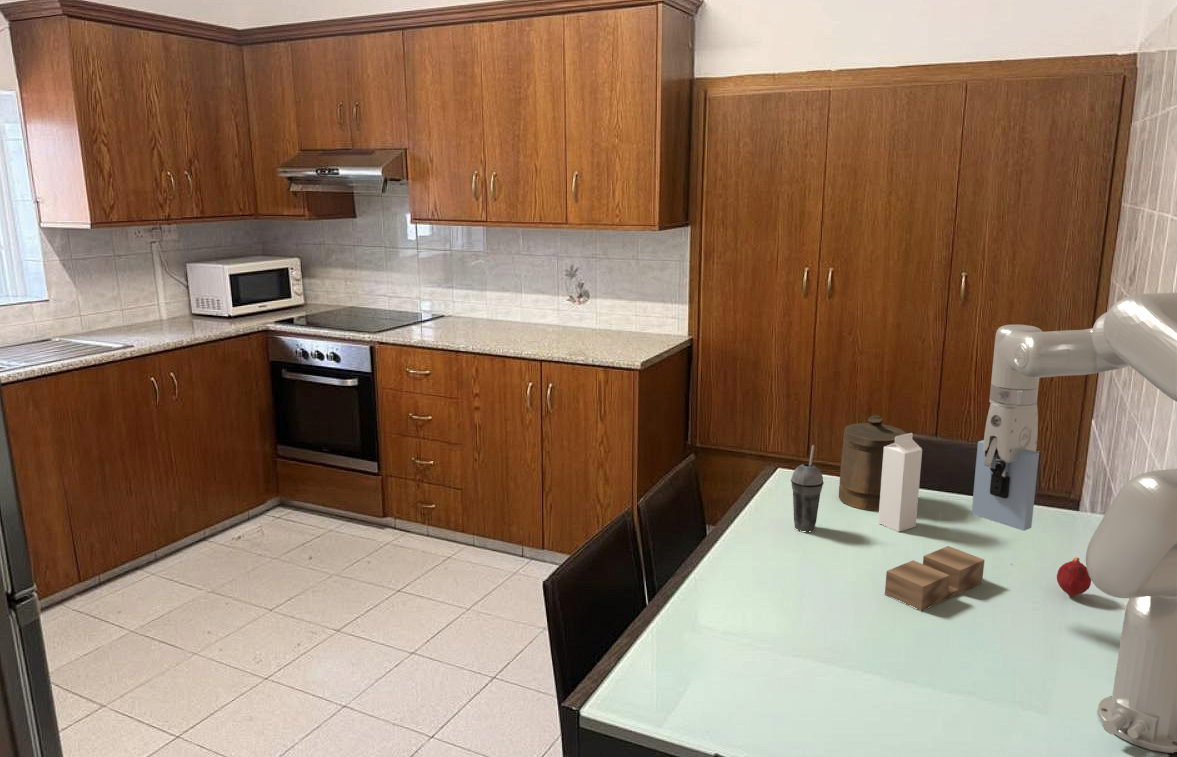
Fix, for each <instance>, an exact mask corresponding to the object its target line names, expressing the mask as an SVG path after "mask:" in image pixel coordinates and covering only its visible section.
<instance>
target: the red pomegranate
mask: <svg viewBox="0 0 1177 757" xmlns="http://www.w3.org/2000/svg"><path fill="white" fill-rule="evenodd" d="M1056 582H1057V583H1058V586H1059V587H1060V588H1061V590H1062V591H1063V592H1064V593H1066V594H1067V595H1068V596H1069V597H1076V596H1080V595H1082V594H1084V593H1085V592H1087V591H1088V590H1089V588H1091V586H1092V580H1091V579H1090V577H1089V575H1088V572H1087V567H1086V565H1084V564H1083V563H1082V562H1080V558H1079V557H1078V556H1074V557H1073V558H1072V560H1071V561H1068V562H1065V563H1064V564H1062V565H1061V566H1060V567H1058V570H1057V574H1056Z"/></svg>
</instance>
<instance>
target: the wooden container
mask: <svg viewBox="0 0 1177 757" xmlns="http://www.w3.org/2000/svg"><path fill="white" fill-rule="evenodd" d="M867 420H868V422H861V423H859V422H858V423H852V424H849V425H847V426H845V427H844V430H843V436H842V437H843V439H842V440H843V442H842V449H841V460H840V468H839V470H840V471H839V486H838V487H839V488H838V499H839V500H840V502H842V503H843V504H845V505H848V506H850V507H852V508H856V509H860V510H864V511H872V512H873V511H877V512H879V504H880V491H881V478H882V465H883V452H884V447H885V446H888V445H891V444H894V443H895V437H896V436H901V435H905V434H907V432H905V431H904V430H903V429H901V428H899V427H896V426H892V425H888V424H883V423H884V419H883V418H882V417H881V416H880V415H877V414H875V415H871V416H869V417H868V419H867Z"/></svg>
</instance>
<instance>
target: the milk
mask: <svg viewBox="0 0 1177 757" xmlns="http://www.w3.org/2000/svg"><path fill="white" fill-rule="evenodd" d="M913 435H914V434H913V432H910V433H906V434H905V435H901V436H896V437H895V443H894V444H891V445H888V446H885V447H884V452H883V465H882V478H881V491H880V504H879V511H878V521H877V524H878V523H879V524H878V525H880V524H882V525H881V526H883V525H884V526H883V527H885V526H886V527H885V528H888V529H890V528H891V529H890V530H893V531H895V532H897V531H898V532H897V533H900V532H903V531H906V530H909V529H912V528H916V526H917V515H918V502H919V493H920V492H919V491H920V482H921V470H922V469H921V468H922V459H923V458H922V457H923V456H922V455H923V448H922V447H921V446H920V445H919V444H918V443H917V442H916V441H915V440H914V439H913Z"/></svg>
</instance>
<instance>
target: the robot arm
mask: <svg viewBox="0 0 1177 757" xmlns="http://www.w3.org/2000/svg"><path fill="white" fill-rule="evenodd" d="M993 347H994V348H993V359H992V371H991V380H990V390H989V391H990V392H989V403H990V404H989V409H988V414H987V417H986V423H985V428H984V434H983V436H984V437H983V440H984V444H983V453H984V456H985V457H986V459H985V462H984V465H985V466H987V467H989V468H990V473H991V484H990V494H991V495H994V496H998V497H1001V498H1008V494H1009V484H1010V477H1008V472H1009V464H1010V463H1012V462H1015V461H1018V460H1019V456H1020V452H1022V451H1025V450H1031V451H1035V452H1037V447H1038V436H1039V435H1038V431H1039V426H1038V425H1039V413H1038V396H1039V385H1040V379H1041V378H1054V377H1067V376H1086V375H1092V374H1098V373H1105V372H1109V371H1114V370H1120V369H1125V368H1128V367H1131V369H1133V370H1134V371H1136V372H1137V373H1138V374H1139V375H1140V376H1142V377H1143V378H1144V379H1146V380H1147V382H1149V383H1150V384H1152V385H1153V386H1154V387H1156V388H1157V389H1158V390H1159V391H1160V392H1161V393H1163V394H1164V395H1165V396H1167V397H1168V398H1169V399H1170V400H1173V401H1174V402H1177V292H1157V293H1138V294H1132V295H1128V296H1126V297H1123V298H1122V299H1119V300H1118V301H1117V302H1115V303H1114V304H1113V305H1112V306H1111V307H1110V308H1109V310H1107V311H1106V312H1104V313H1102V314H1101V315H1100V316H1099V317H1098V318H1097V319H1096V321H1095V322H1094V324H1093V326H1092V328H1086V329H1069V330H1068V329H1067V330H1052V331H1043V330H1042V329H1041V328H1039V327H1037V326H1033V325H1028V324H1027V325H1026V324H1006V325H1002V326H1000V327H998V329H997V330H996V332H995V338H994V346H993ZM997 455H999V456H1000V457H997ZM997 462H1000V463H1003V467H1002V465H1001V464H999V463H997ZM1085 567H1086V568H1087V572H1088V575H1089V577H1090V579H1091V583H1092V584H1093V585H1094V587H1096V588H1097V589H1098V590H1099V591H1101V592H1102V593H1104V594H1106V595H1109V596H1110V597H1114V598H1118V599H1128V601H1127V603H1126V606H1125V611H1124V617H1123V623H1122V627H1121V628H1122V629H1121V634H1120V635H1121V637H1120V643H1119V650H1118V655H1117V662H1116V668H1115V670H1116V671H1115V676H1114V682H1113V690H1112V695H1109V696H1107V697H1104V698H1103V699H1101V700H1100V702H1099V703H1098V707H1097V716H1098V718H1099V721H1101V723H1102V728H1103V730H1104V731H1105V732H1106V733H1108V734H1109V735H1115V736H1117V737H1119V738H1120V739H1121V740H1124V741H1126V742H1128V743H1130V744H1132V745H1135V746H1138V747H1141V748H1144V749H1147V750H1151V751H1155V752H1159V753H1160V752H1161V753H1166V754H1167V753H1168V754H1175V753H1174V752H1177V468H1169V469H1161V470H1160V469H1158V470H1152V471H1148V472H1147V471H1146V472H1143V473H1140V474H1138V475H1136V476H1135V477H1133V478H1131V479H1130V480H1129V481H1127V482H1126V483H1125V484H1123V486H1122V487H1121V489H1119V491H1118V493H1117V494H1116V496H1115V497H1114V499H1113V500H1112V502H1111V504H1110V506H1109V507H1108V509H1107V510H1106V512H1105V514H1104V515H1103V517H1102V519H1101V521H1100V522H1099V524H1098V525H1097V527H1096V529H1095V531H1094V532H1093V534H1092V536H1091V538H1090V540H1089V542H1088V545H1087V548H1086V553H1085Z"/></svg>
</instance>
